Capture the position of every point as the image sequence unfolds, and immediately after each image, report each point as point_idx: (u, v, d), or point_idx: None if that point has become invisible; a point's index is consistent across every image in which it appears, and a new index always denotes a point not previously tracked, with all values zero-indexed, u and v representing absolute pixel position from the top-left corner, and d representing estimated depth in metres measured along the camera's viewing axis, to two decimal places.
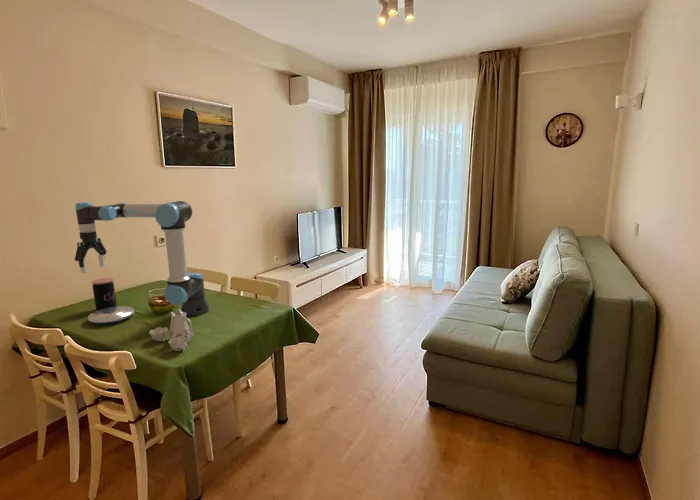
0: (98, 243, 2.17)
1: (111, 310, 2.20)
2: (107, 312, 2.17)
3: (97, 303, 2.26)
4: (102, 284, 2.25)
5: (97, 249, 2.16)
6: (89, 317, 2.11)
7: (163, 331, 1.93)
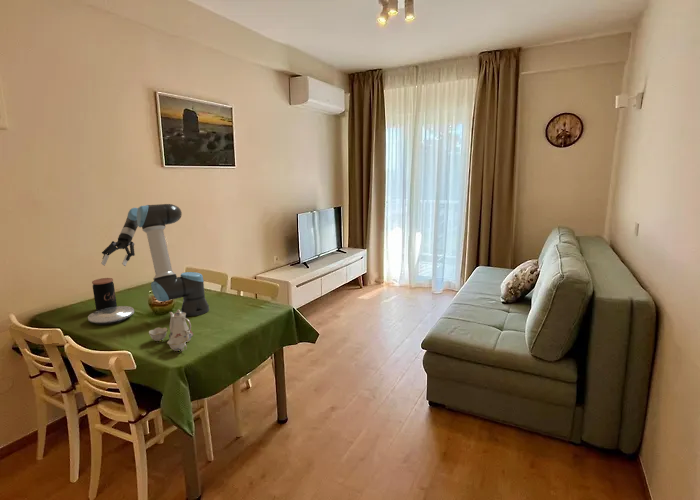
0: None
1: (111, 310, 2.20)
2: (107, 312, 2.17)
3: (97, 303, 2.26)
4: (102, 284, 2.25)
5: None
6: (89, 317, 2.11)
7: (163, 331, 1.92)
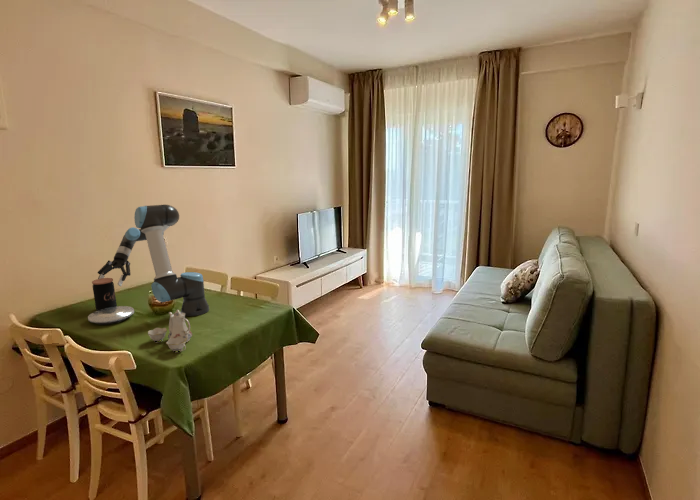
0: None
1: (111, 310, 2.20)
2: (107, 312, 2.17)
3: (97, 303, 2.26)
4: (102, 284, 2.25)
5: None
6: (89, 317, 2.11)
7: (162, 331, 1.92)
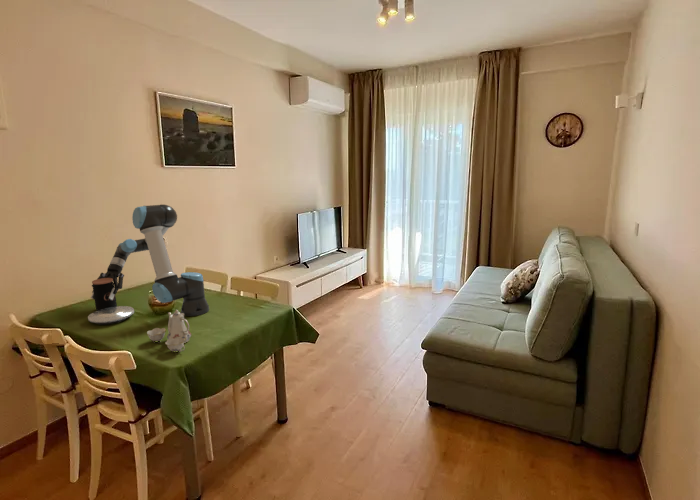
0: None
1: (111, 310, 2.20)
2: (107, 312, 2.17)
3: (97, 303, 2.26)
4: (102, 284, 2.25)
5: None
6: (89, 317, 2.11)
7: (161, 332, 1.92)
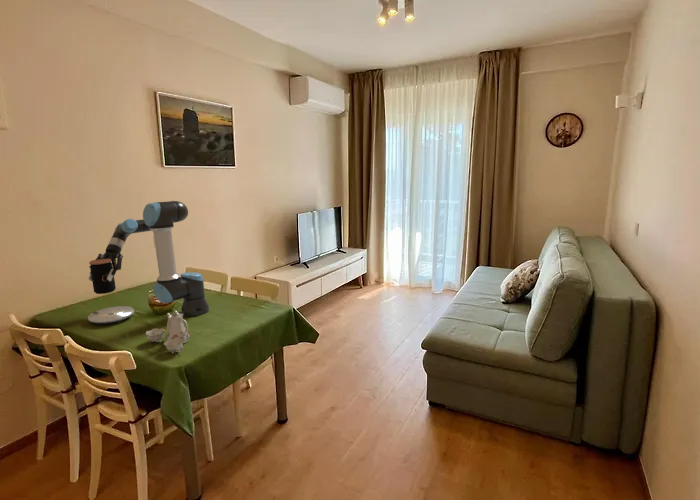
0: None
1: (111, 310, 2.20)
2: (107, 312, 2.17)
3: (95, 284, 2.16)
4: (100, 264, 2.14)
5: (112, 263, 2.23)
6: (89, 317, 2.11)
7: (160, 332, 1.91)
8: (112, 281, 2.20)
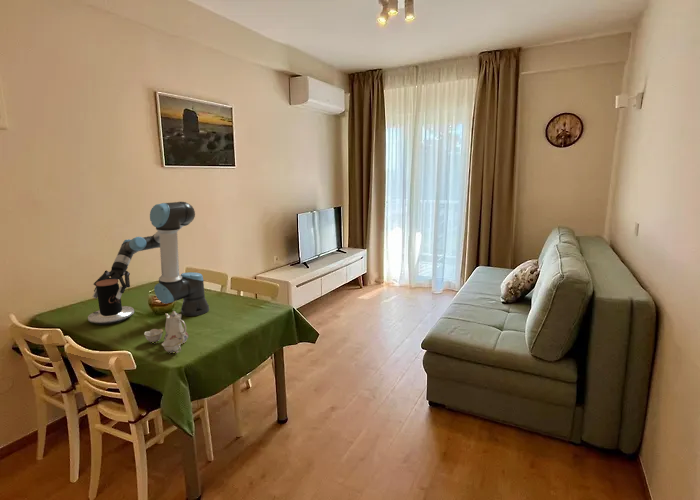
0: None
1: None
2: None
3: (101, 306, 2.11)
4: (107, 286, 2.09)
5: (120, 280, 2.17)
6: (89, 317, 2.11)
7: (158, 333, 1.91)
8: (119, 302, 2.15)
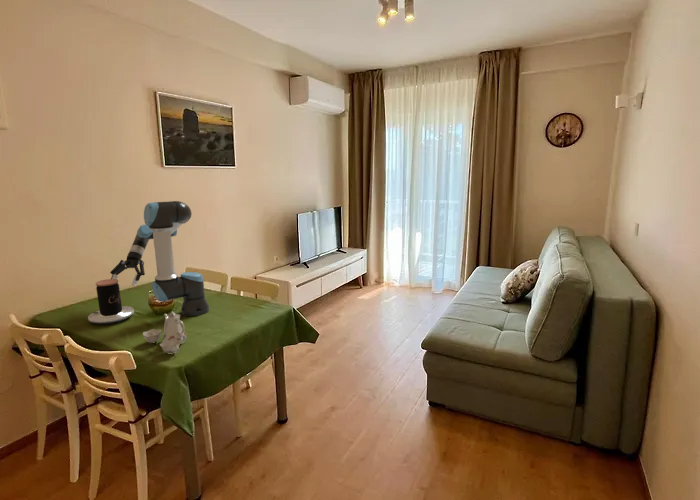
0: None
1: None
2: None
3: (101, 306, 2.11)
4: (107, 286, 2.09)
5: (135, 269, 2.30)
6: (89, 317, 2.11)
7: (157, 333, 1.90)
8: (119, 302, 2.15)
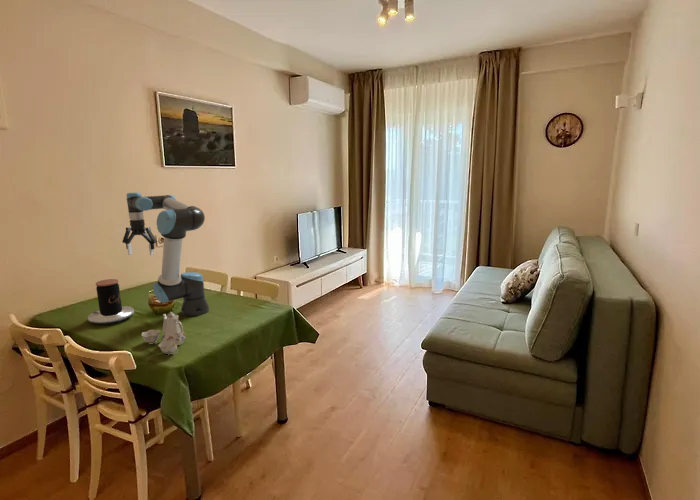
0: None
1: None
2: None
3: (101, 306, 2.11)
4: (107, 286, 2.09)
5: (145, 237, 2.29)
6: (89, 317, 2.11)
7: (156, 333, 1.90)
8: (119, 302, 2.15)
